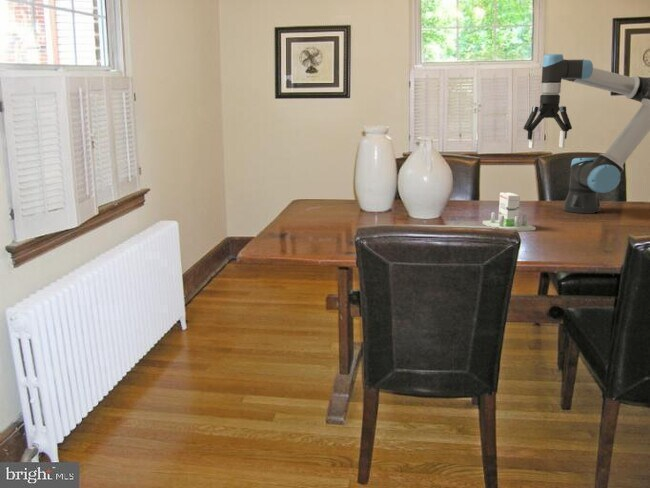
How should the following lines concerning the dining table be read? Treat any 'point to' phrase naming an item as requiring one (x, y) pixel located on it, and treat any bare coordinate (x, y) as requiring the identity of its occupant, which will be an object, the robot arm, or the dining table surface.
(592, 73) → the robot arm
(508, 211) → the ink box
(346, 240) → the dining table surface
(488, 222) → the pin tray
